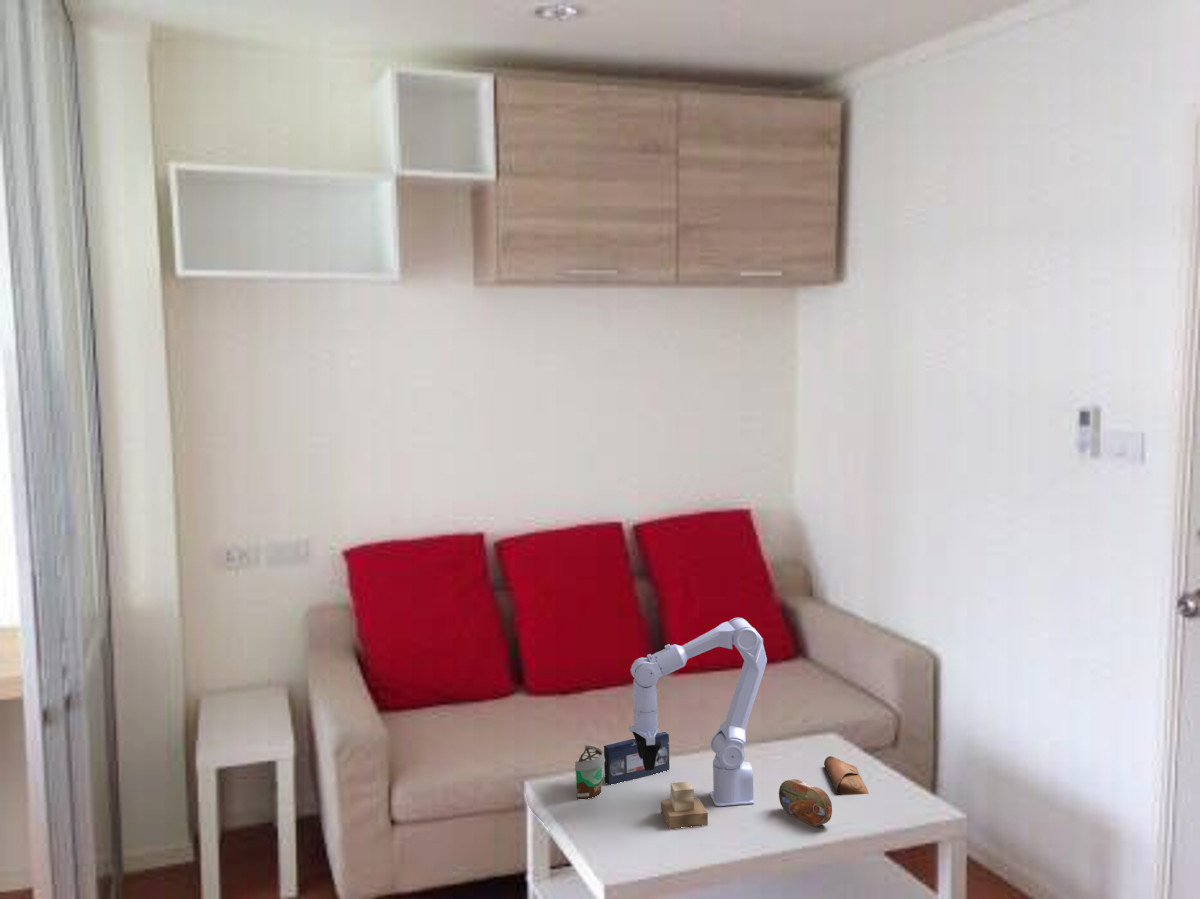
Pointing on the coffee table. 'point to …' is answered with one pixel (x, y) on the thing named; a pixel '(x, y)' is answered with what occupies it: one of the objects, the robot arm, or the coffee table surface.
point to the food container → (589, 772)
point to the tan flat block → (684, 815)
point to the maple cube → (682, 796)
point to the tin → (805, 802)
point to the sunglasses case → (844, 777)
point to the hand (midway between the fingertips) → (646, 763)
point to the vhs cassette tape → (632, 760)
